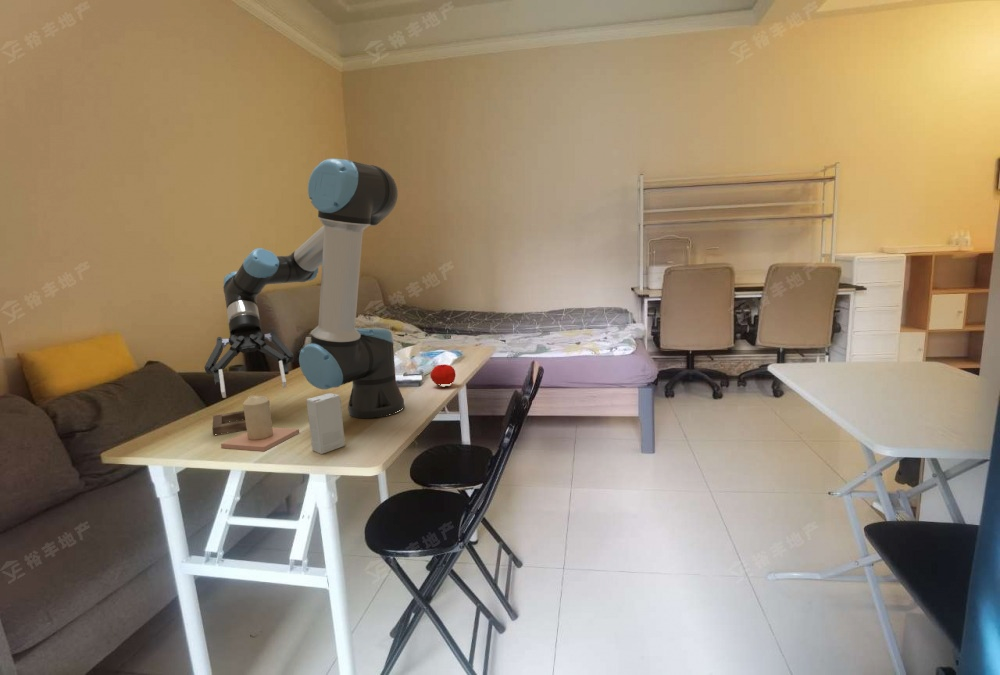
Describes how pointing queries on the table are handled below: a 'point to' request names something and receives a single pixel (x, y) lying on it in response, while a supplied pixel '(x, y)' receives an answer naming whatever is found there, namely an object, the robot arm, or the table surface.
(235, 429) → the walnut holder
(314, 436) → the skincare box
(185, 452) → the table surface
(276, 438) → the terracotta tile
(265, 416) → the candle
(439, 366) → the apple
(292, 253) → the robot arm
